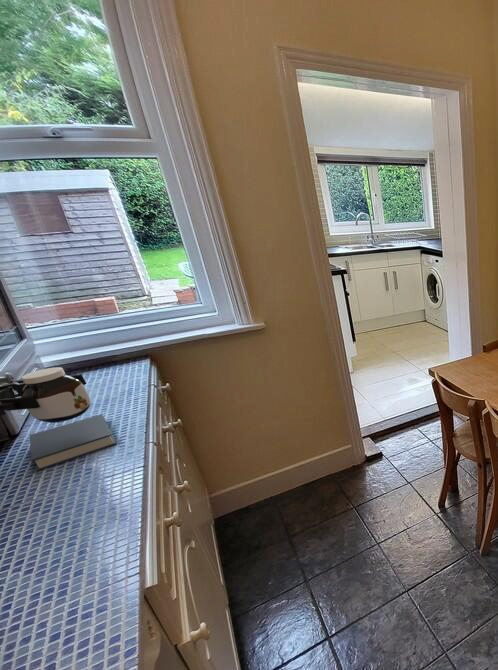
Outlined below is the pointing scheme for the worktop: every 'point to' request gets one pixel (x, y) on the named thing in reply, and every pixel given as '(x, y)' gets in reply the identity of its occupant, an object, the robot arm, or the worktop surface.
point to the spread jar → (55, 395)
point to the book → (70, 441)
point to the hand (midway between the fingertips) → (60, 390)
